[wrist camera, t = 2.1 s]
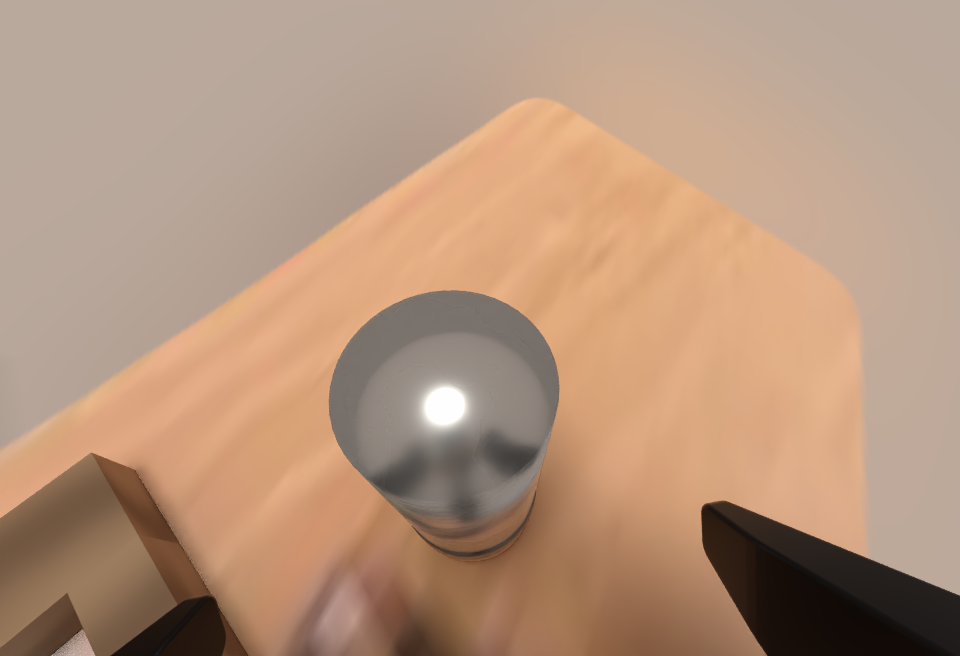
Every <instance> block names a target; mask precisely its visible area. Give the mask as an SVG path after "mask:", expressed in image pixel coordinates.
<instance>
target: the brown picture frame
mask: <svg viewBox="0 0 960 656" xmlns="http://www.w3.org/2000/svg"><path fill="white" fill-rule="evenodd" d="M206 594H210V593H209V591H208V590H207V588H206V586H205V585H204V583H203V582H202V580H201V578H200V577H199V575H198V573H197V572H196V570H195V568H194V567H193V565H192V564H191V562H190V560H189V559H188V557H187V555H186V554H185V552H184V550H183V549H182V547H181V546H180V544H179V542H178V541H177V539H176V537H175V536H174V534H173V533H172V531H171V529H170V528H169V526H168V524H167V523H166V521H165V519H164V518H163V516H162V515H161V513H160V511H159V510H158V508H157V506H156V505H155V503H154V501H153V500H152V498H151V497H150V495H149V493H148V492H147V490H146V488H145V487H144V485H143V483H142V482H141V480H140V479H139V477H138V475H137V474H136V472H135V470H134V469H131V468H129V467H126V466H124V465H121V464H119V463H116V462H113V461H111V460H108V459H106V458H103V457H101V456H98V455H96V454H93V453H90V454H89V455H87V456H86V457H85V458H83V459H82V460H80V461H79V462H78V463H76V464H75V465H73V466H72V467H71V468H69V469H68V470H67V471H65V472H64V473H62V474H61V475H60V476H58V477H57V478H56V479H54V480H53V481H51V482H50V483H49V484H47V485H46V486H45V487H43V488H42V489H40V490H39V491H38V492H36V493H35V494H33V495H32V496H31V497H29V498H28V499H27V500H25V501H24V502H22V503H21V504H20V505H18V506H17V507H16V508H14V509H13V510H11V511H10V512H9V513H7V514H6V515H4V516H3V517H2V518H0V656H50V655H52V654H53V653H54V652H55V651H56V650H57V649H59V648H60V647H61V646H62V645H63V644H64V643H65V642H67V641H68V640H69V639H70V638H71V637H72V636H74V635H75V634H76V633H77V632H78V631H79V630H80V629H82V628H83V629H84V631H85V633H86V636H87V638H88V640H89V642H90V645H91V647H92V649H93V651H94V653H95V656H110V655H112V654H113V653H114V652H116V651H117V650H118V649H120V648H121V647H122V646H124V645H125V644H126V643H128V642H129V641H130V640H132V639H133V638H134V637H136V636H137V635H138V634H139V633H141V632H142V631H143V630H145V629H146V628H147V627H149V626H150V625H151V624H153V623H154V622H155V621H157V620H158V619H159V618H161V617H162V616H163V615H165V614H166V613H167V612H169V611H170V610H171V609H173V608H174V607H175V606H177V605H178V604H179V603H181V602H182V601H183V600H185V599H187V598H190V597H194V596H200V595H206ZM219 611H220V609H219ZM220 614H221V617H222V620H223V623H224V627H225V630H226V644H225V648H224V652H223V655H222V656H248V655H247V653H246V652H245V650H244V649H243V647H242V645H241V644H240V642H239V640H238V639H237V637H236V636H235V634H234V632H233V631H232V629H231V627H230V626H229V624H228V622H227V621H226V619H225V618H224V616H223V614H222V613H221V611H220Z"/></svg>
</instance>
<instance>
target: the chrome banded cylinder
mask: <svg viewBox="0 0 960 656" xmlns="http://www.w3.org/2000/svg"><path fill="white" fill-rule="evenodd" d="M558 401H559V378H558V371H557V367H556V363H555V360H554V357H553V354H552V352H551V349H550V347H549V346H548V344H547V342H546V340H545V338H544V337H543V336H542V334H541V333H540V332H539V330H538V329H537V328H536V327H535V326H534V325H533V323H532V322H531V321H530V320H529V319H528V318H526V317H525V316H524V315H523V314H521V313H520V312H519V311H518V310H516V309H514V308H513V307H511V306H509V305H508V304H506V303H504V302H502V301H499V300H497V299H495V298H492V297H489V296H486V295H483V294H478V293H473V292H466V291H437V292H429V293H425V294H420V295H416V296H413V297H410V298H407V299H404V300H402V301H400V302H398V303H395V304H393V305H391V306H390V307H388V308H386V309H385V310H383V311H381V312H380V313H378V314H377V315H376V316H374V317H373V318H372V319H370V320H369V321H368V322H367V323H366V324H365V325H364V326H363V327H361V328H360V330H359V331H358V332H357V333H356V334H355V335H354V336H353V337H352V339H351V340H350V342H349V343H348V345H347V346H346V347H345V349H344V351H343V352H342V354H341V356H340V358H339V360H338V362H337V365H336V368H335V370H334V373H333V377H332V381H331V385H330V393H329V413H330V419H331V424H332V429H333V432H334V434H335V437H336V440H337V442H338V444H339V446H340V448H341V449H342V451H343V453H344V455H345V456H346V457H347V459H348V460H349V461H350V462H351V464H352V465H353V466H354V467H355V468H356V469H357V470H358V471H359V472H360V473H361V474H362V475H363V476H364V477H365V478H366V479H367V480H368V481H369V483H370V484H371V485H372V486H373V487H374V488H375V489H376V490H377V491H378V492H379V493H380V494H381V495H382V496H383V497H384V498H385V499H386V500H387V501H388V502H389V503H390V504H391V505H392V506H393V507H394V508H395V509H396V510H397V511H398V512H399V513H400V514H401V515H402V516H403V517H404V518H405V519H406V520H407V521H408V522H409V523H410V524H411V525H412V527H413V528H414V529H415V530H416V532H417V533H418V534H419V535H420V536H421V537H422V538H423V539H424V540H425V541H426V542H427V543H428V544H429V545H430V546H431V547H433V548H434V549H436V550H437V551H439V552H441V553H442V554H444V555H446V556H448V557H450V558H453V559H456V560H460V561H466V562H476V561H483V560H487V559H490V558H493V557H495V556H497V555H499V554H501V553H502V552H504V551H505V550H507V549H508V548H509V547H510V546H511V545H512V544H513V543H514V542H515V541H516V540H517V539H518V537H519V536H520V534H521V533H522V531H523V529H524V528H525V526H526V524H527V522H528V520H529V517H530V514H531V511H532V507H533V504H534V499H535V495H536V487H537V483H538V480H539V476H540V472H541V468H542V465H543V461H544V457H545V453H546V450H547V446H548V442H549V439H550V435H551V431H552V427H553V424H554V420H555V416H556V411H557V407H558Z"/></svg>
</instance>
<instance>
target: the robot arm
mask: <svg viewBox="0 0 960 656" xmlns="http://www.w3.org/2000/svg"><path fill="white" fill-rule="evenodd" d="M701 519H702V542H703V547H704V550H705V553H706V555H707V557H708V559H709V560H710V562H711V564H712V566H713V567H714V569H715V571H716V572H717V574H718V576H719V578H720V579H721V581H722V583H723V584H724V586H725V588H726V589H727V591H728V593H729V595H730V596H731V598H732V600H733V601H734V603H735V605H736V607H737V608H738V610H739V612H740V613H741V615H742V617H743V618H744V620H745V622H746V624H747V625H748V627H749V629H750V630H751V632H752V633H753V635H754V637H755V638H756V640H757V641H758V643H759V644H760V646H761V647H762V649H763V650H764V652H765V653H766V654H767V656H960V596H959V595H957V594H954V593H952V592H950V591H947V590H945V589H942V588H940V587H937V586H935V585H932V584H930V583H927V582H925V581H922V580H919V579H917V578H915V577H912V576H910V575H908V574H905V573H902V572H900V571H897V570H895V569H893V568H890V567H888V566H885V565H883V564H880V563H878V562H875V561H873V560H871V559H868V558H866V557H863V556H861V555H858V554H856V553H853V552H851V551H848V550H846V549H843V548H841V547H838V546H836V545H833V544H831V543H829V542H826V541H824V540H821V539H819V538H816V537H814V536H811V535H809V534H806V533H804V532H801V531H799V530H796V529H794V528H792V527H789V526H787V525H784V524H782V523H779V522H777V521H774V520H772V519H769V518H767V517H764V516H762V515H759V514H757V513H754V512H752V511H750V510H747V509H745V508H742V507H740V506H737V505H735V504H732V503H730V502H727V501H717V502H712V503H706V504H704V505H703V507H702V510H701ZM225 644H226V630H225V627H224V623H223V620H222V617H221V614H220V611H219V608H218V604H217V601H216V599H215V597H214V596H213V595H210V594H206V595H200V596H194V597H190V598H187V599H185V600H183V601H182V602H181V603H179V604H178V605H177V606H175V607H174V608H173V609H171V610H170V611H169V612H167V613H166V614H165V615H163V616H162V617H161V618H159V619H158V620H157V621H155V622H154V623H153V624H151V625H150V626H149V627H147V628H146V629H145V630H143V631H142V632H141V633H139V634H138V635H137V636H136V637H134V638H133V639H132V640H130V641H129V642H128V643H126V644H125V645H124V646H122V647H121V648H120V649H118V650H117V651H116V652H114V653H113V654H112V655H110V656H222V655H223V652H224V648H225Z"/></svg>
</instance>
